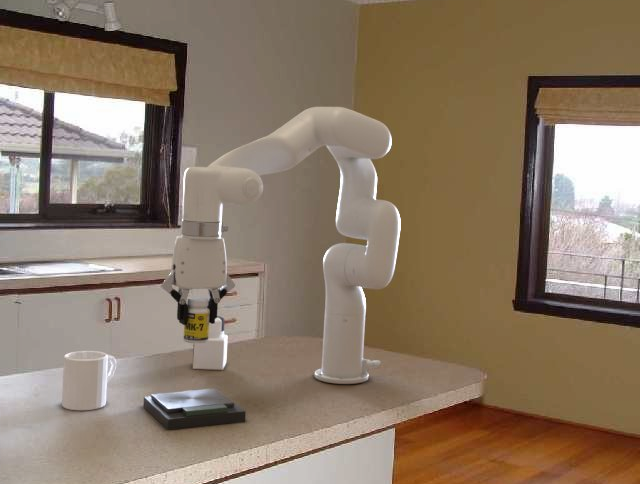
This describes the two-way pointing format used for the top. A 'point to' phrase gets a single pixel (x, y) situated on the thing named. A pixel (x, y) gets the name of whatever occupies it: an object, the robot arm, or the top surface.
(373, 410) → the top surface
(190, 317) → the supplement bottle
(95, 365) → the mug
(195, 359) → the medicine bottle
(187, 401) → the scale pan
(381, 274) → the robot arm
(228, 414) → the scale
